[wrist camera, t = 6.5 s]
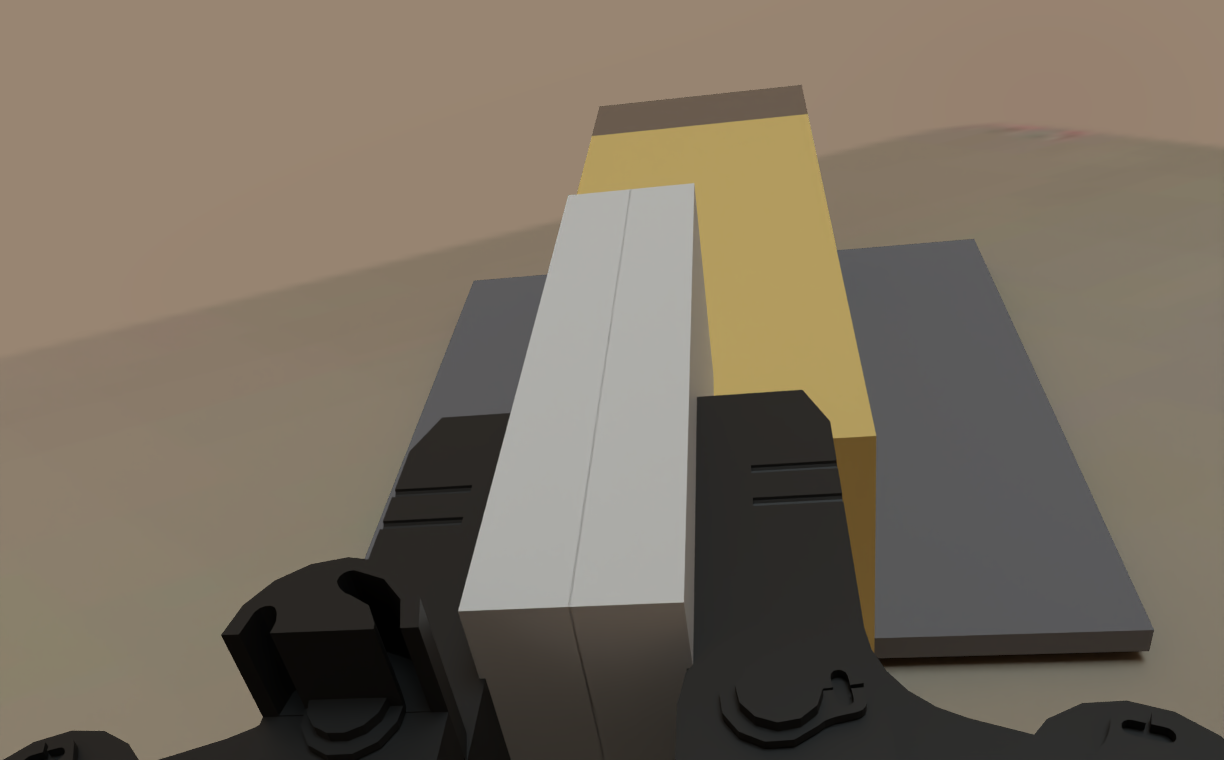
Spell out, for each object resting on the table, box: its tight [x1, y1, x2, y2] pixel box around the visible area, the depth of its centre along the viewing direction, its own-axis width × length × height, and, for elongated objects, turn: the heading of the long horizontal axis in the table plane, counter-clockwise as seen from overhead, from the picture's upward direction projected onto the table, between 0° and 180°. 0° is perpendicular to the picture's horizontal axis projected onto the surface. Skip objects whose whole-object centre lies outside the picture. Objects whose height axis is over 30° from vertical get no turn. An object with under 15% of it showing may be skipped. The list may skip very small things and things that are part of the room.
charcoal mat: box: [365, 239, 1154, 658], centre depth 23 cm, size 14×14×1 cm
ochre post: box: [577, 85, 876, 652], centre depth 21 cm, size 5×5×14 cm
